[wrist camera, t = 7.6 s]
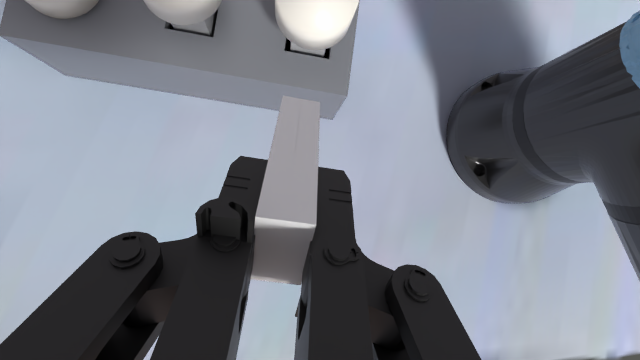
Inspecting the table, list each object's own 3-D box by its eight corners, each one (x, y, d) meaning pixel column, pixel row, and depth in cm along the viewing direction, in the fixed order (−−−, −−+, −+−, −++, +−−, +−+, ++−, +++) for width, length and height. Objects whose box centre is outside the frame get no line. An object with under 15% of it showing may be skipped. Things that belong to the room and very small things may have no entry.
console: (347, 2, 38) (366, -53, 30) (332, 119, 36) (347, 95, 28) (91, -51, 35) (34, -129, 26) (65, 75, 33) (-5, 33, 25)
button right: (343, 20, 31) (364, -43, 23) (335, 80, 31) (354, 37, 23) (280, 8, 30) (281, -62, 23) (271, 69, 30) (268, 20, 22)
